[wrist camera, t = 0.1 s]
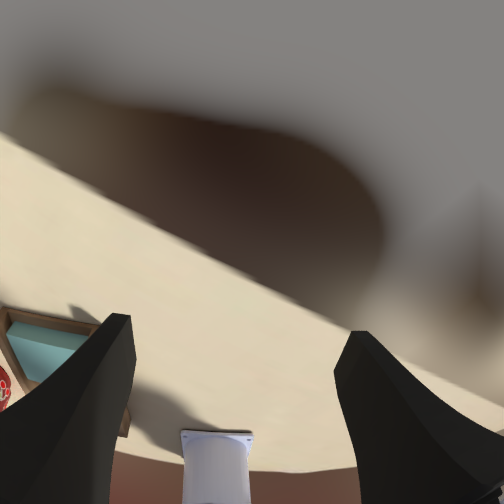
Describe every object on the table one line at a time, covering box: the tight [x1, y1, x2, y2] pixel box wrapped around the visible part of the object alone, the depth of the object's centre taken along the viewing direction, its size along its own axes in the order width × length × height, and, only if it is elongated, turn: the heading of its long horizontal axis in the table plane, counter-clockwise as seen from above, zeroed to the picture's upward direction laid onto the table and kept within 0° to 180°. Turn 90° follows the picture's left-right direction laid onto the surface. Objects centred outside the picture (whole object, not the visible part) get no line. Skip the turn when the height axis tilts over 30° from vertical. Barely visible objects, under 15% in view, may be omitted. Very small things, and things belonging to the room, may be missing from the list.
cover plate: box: [6, 321, 88, 383], centre depth 22 cm, size 6×8×2 cm
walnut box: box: [0, 307, 131, 438], centre depth 23 cm, size 14×11×2 cm
